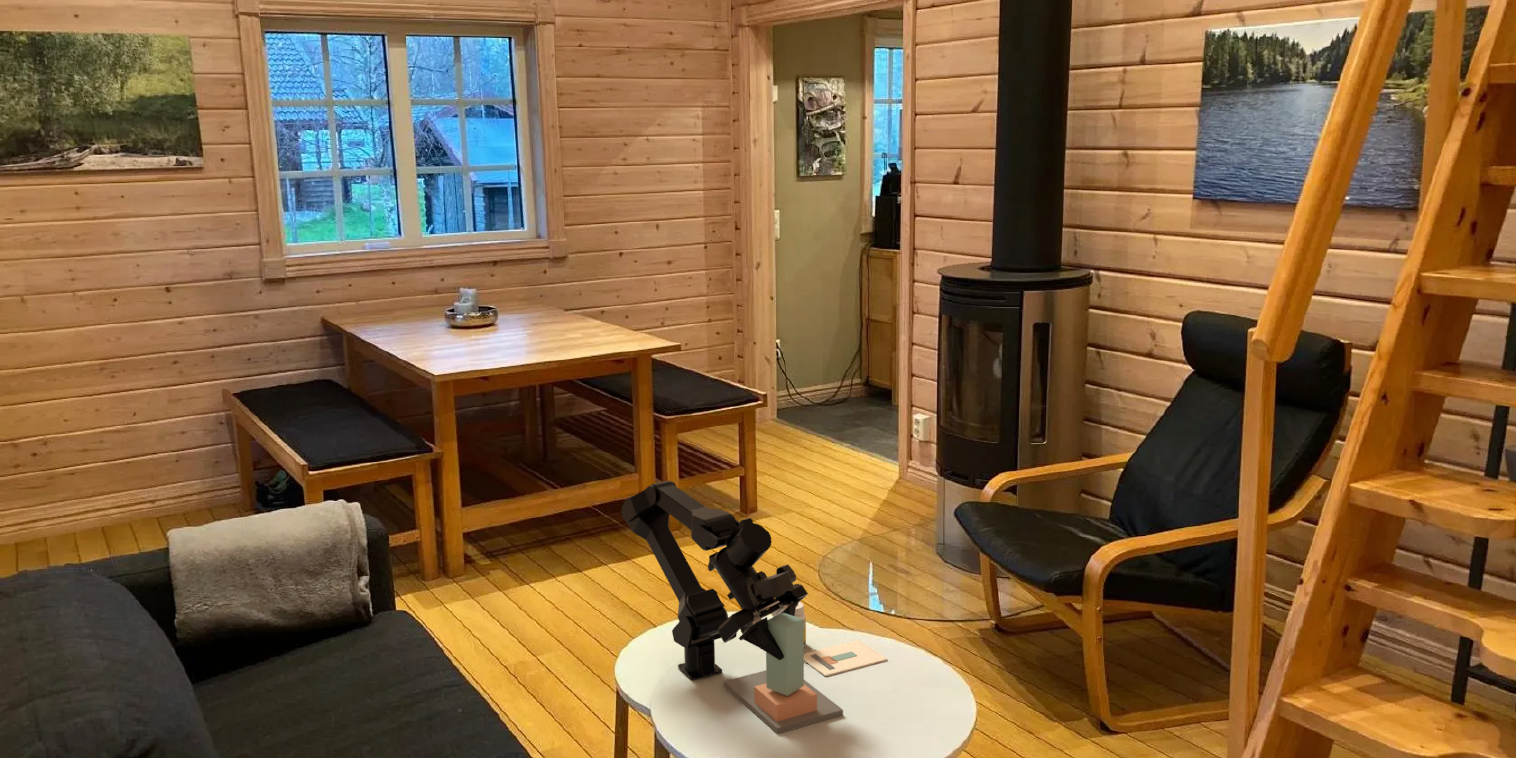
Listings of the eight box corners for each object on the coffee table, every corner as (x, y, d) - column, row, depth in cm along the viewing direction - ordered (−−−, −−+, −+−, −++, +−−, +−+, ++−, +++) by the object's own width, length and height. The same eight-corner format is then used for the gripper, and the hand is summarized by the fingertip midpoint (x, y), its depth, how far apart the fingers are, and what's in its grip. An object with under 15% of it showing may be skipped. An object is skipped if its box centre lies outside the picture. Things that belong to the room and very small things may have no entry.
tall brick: (766, 688, 199) (765, 620, 196) (783, 678, 202) (782, 612, 200) (787, 695, 196) (786, 627, 193) (803, 686, 199) (803, 619, 197)
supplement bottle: (777, 646, 226) (776, 606, 225) (790, 637, 230) (789, 598, 228) (797, 652, 224) (797, 611, 222) (810, 643, 227) (810, 603, 226)
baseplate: (723, 686, 210) (723, 665, 209) (785, 670, 216) (785, 650, 215) (777, 733, 192) (777, 711, 192) (842, 714, 198) (842, 693, 198)
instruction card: (797, 656, 222) (797, 654, 221) (858, 641, 228) (858, 639, 228) (825, 676, 213) (825, 674, 213) (887, 660, 219) (887, 658, 219)
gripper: (730, 570, 190) (782, 650, 185) (799, 540, 204) (849, 613, 199) (696, 603, 196) (746, 681, 192) (765, 571, 210) (813, 644, 206)
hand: (791, 653), depth 197 cm, fingers closed on tall brick, 5 cm apart
